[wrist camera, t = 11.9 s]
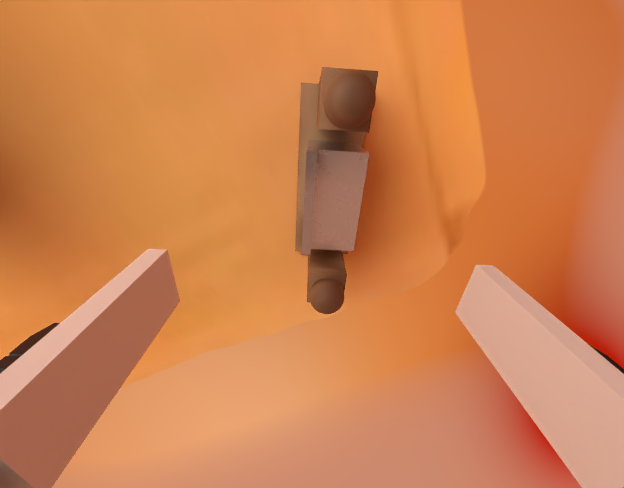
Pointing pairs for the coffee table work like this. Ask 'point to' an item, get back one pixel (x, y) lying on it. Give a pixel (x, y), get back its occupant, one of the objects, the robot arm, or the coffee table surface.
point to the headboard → (331, 127)
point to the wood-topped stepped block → (332, 194)
